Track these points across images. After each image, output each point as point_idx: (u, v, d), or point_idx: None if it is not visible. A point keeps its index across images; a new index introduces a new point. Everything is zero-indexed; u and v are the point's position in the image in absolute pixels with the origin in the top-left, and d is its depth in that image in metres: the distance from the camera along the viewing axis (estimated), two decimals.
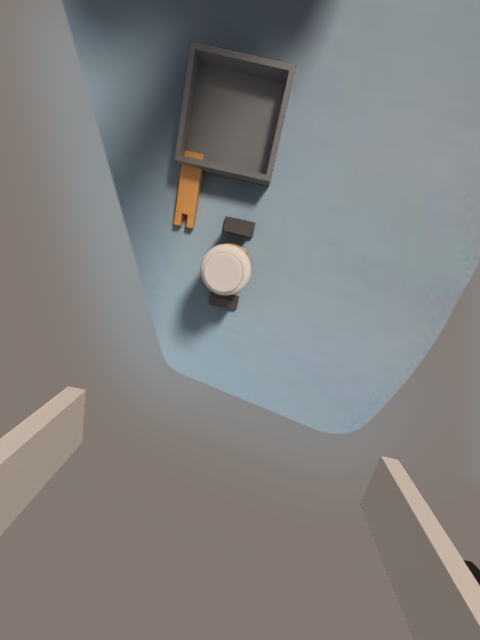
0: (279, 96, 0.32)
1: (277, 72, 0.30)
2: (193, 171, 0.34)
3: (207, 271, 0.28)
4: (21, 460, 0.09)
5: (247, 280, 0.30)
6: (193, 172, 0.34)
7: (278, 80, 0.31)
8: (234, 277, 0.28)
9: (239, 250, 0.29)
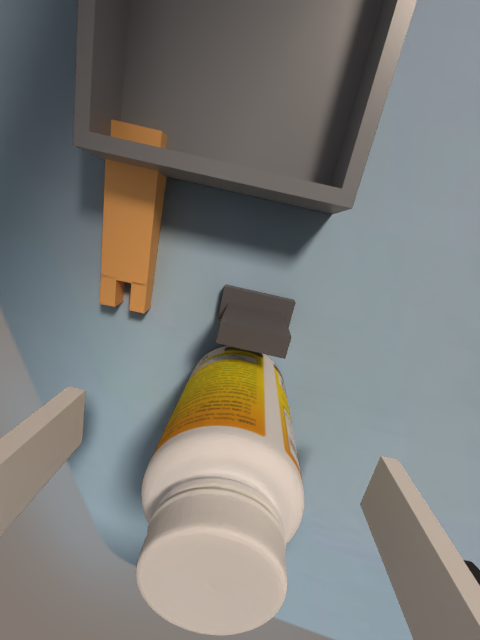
0: None
1: None
2: (138, 178, 0.13)
3: (149, 580, 0.07)
4: (21, 461, 0.09)
5: (292, 536, 0.09)
6: (139, 180, 0.13)
7: None
8: (252, 602, 0.07)
9: (268, 458, 0.09)
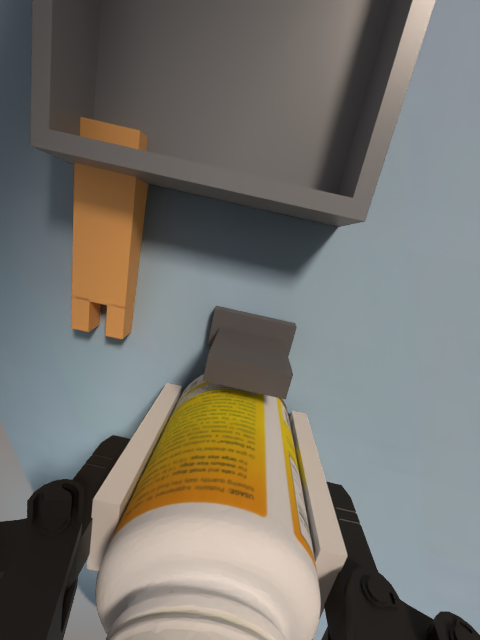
0: None
1: None
2: (113, 185, 0.11)
3: None
4: (156, 443, 0.11)
5: None
6: (114, 187, 0.11)
7: None
8: None
9: (272, 555, 0.06)
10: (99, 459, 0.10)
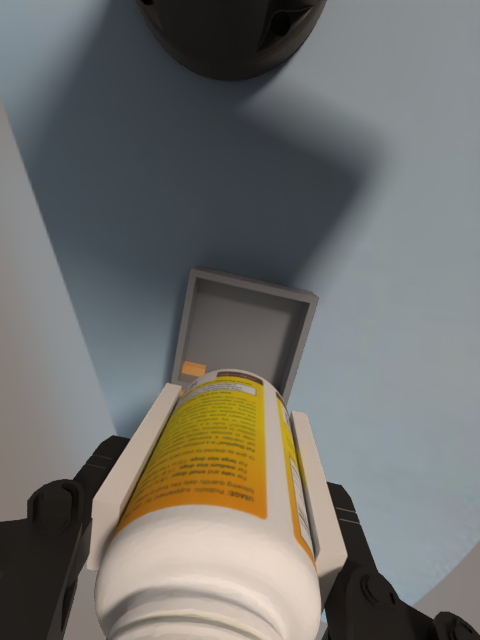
0: (296, 311, 0.27)
1: None
2: None
3: None
4: (156, 443, 0.11)
5: None
6: None
7: None
8: None
9: (272, 559, 0.06)
10: (99, 459, 0.10)
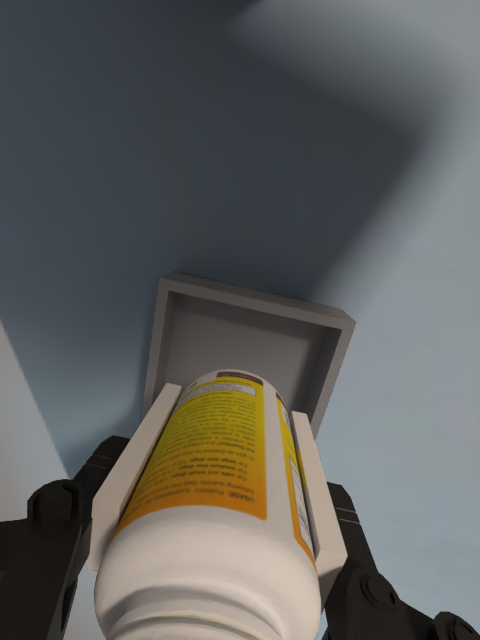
0: (317, 336, 0.18)
1: None
2: None
3: None
4: (156, 443, 0.11)
5: None
6: None
7: None
8: None
9: (272, 559, 0.06)
10: (99, 459, 0.10)
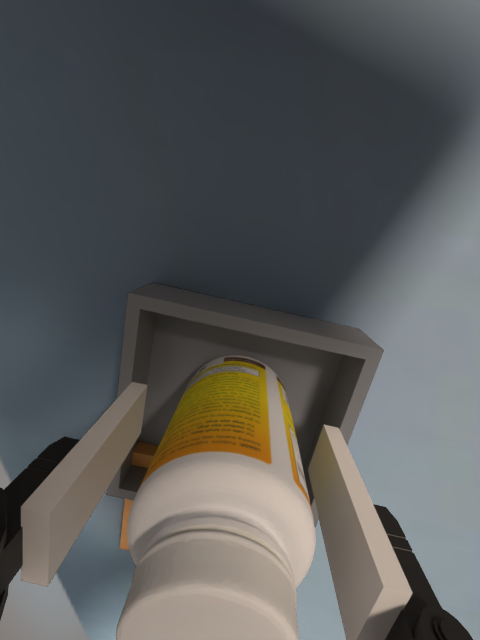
0: (330, 363, 0.15)
1: None
2: None
3: None
4: (111, 445, 0.10)
5: (301, 580, 0.08)
6: None
7: None
8: None
9: (276, 492, 0.07)
10: (44, 462, 0.09)
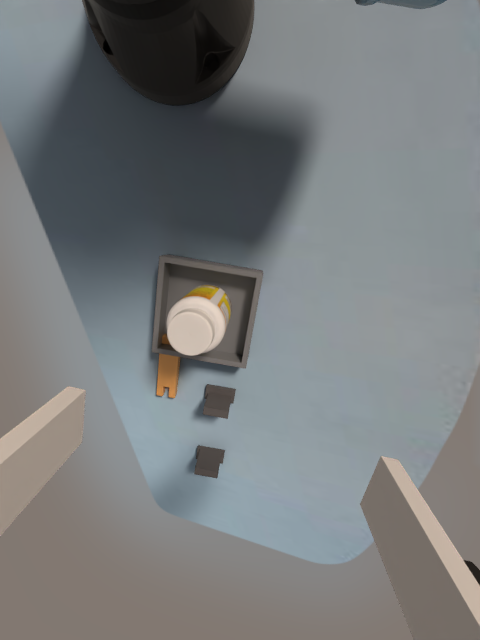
0: (250, 286, 0.33)
1: None
2: None
3: (171, 333, 0.24)
4: (21, 461, 0.09)
5: (221, 337, 0.26)
6: None
7: None
8: (202, 339, 0.24)
9: (209, 304, 0.25)
10: None
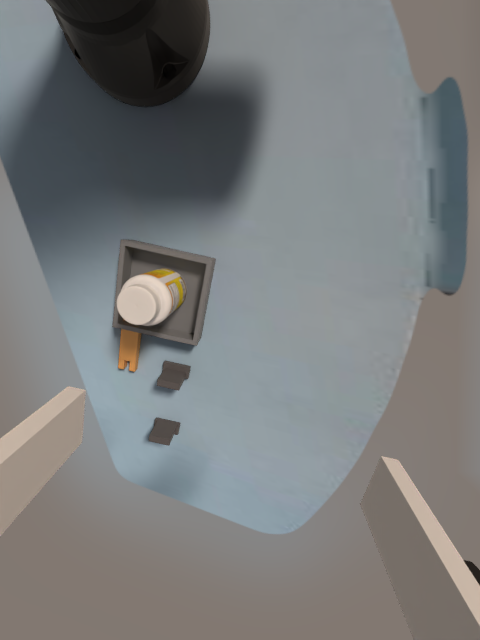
0: (204, 272, 0.36)
1: None
2: None
3: (120, 304, 0.28)
4: (21, 461, 0.09)
5: (167, 311, 0.30)
6: None
7: None
8: (147, 310, 0.28)
9: (157, 281, 0.29)
10: None
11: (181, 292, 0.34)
